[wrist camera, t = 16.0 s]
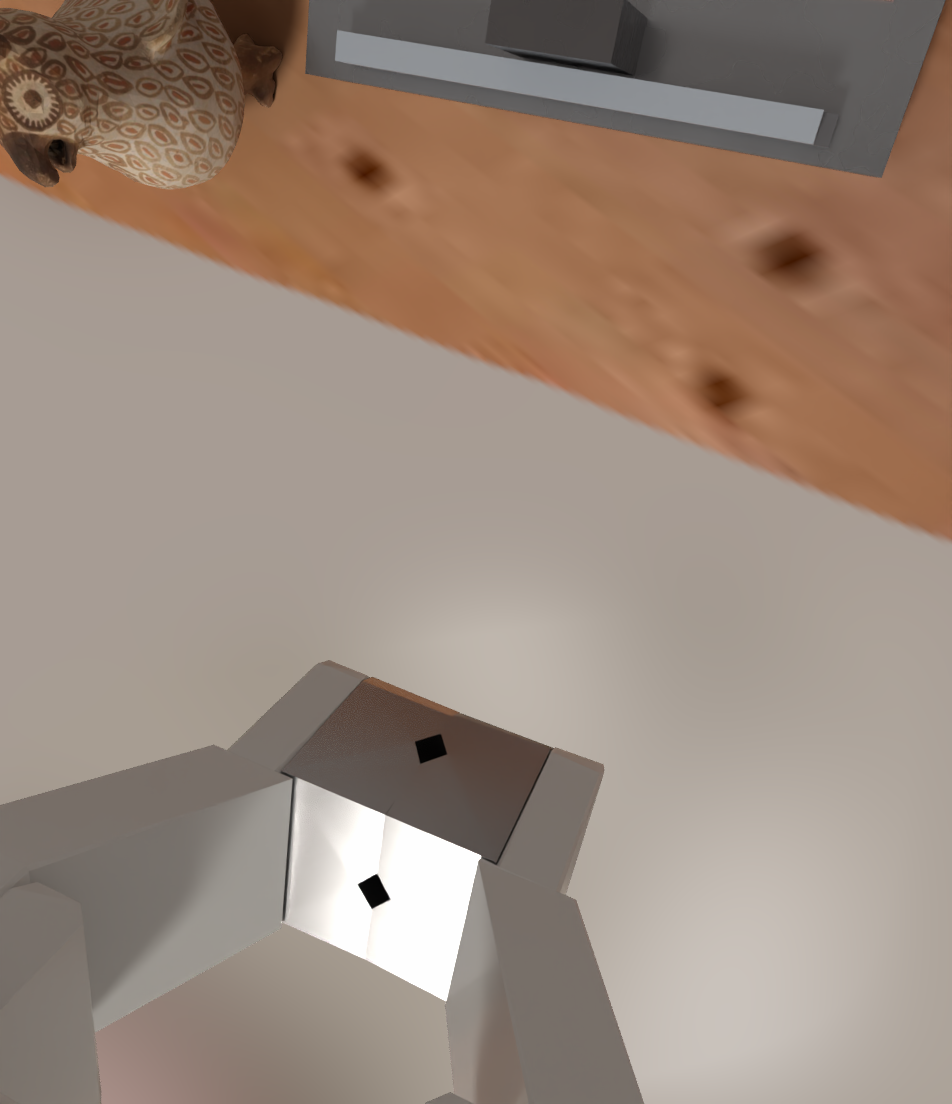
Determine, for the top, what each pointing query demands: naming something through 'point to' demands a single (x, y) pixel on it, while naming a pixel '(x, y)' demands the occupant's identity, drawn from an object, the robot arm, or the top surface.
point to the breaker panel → (670, 59)
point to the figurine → (127, 89)
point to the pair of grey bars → (591, 89)
